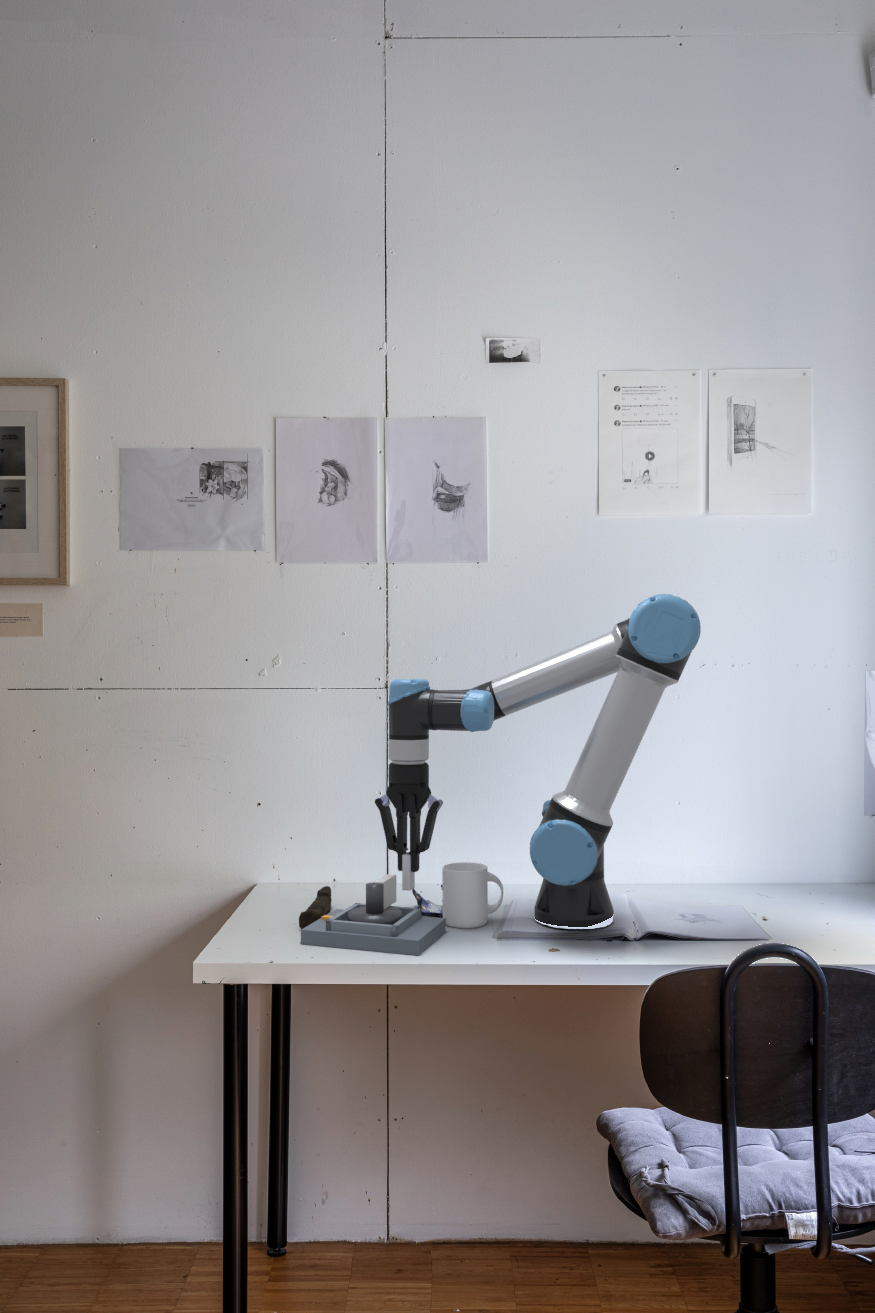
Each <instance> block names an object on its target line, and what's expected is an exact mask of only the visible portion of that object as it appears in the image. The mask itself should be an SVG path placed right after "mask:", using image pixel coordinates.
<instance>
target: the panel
mask: <svg viewBox="0 0 875 1313" xmlns="http://www.w3.org/2000/svg"><path fill="white" fill-rule="evenodd" d="M363 906H366V903H362V902H361V903H360V902H355V903H354V904H352V905H350V906H348V907H346V908H345V909H341V908H340V909H338V908H336V909H334V910H332V911H330V912H329V913H326V914H325V915H324V916H322V917H321V918H320V919H319V920H317V921H315V922H313V923H312V924H310V925H308V926H306V927H305V928H303V929H301V928H300V944H301V945H307V946H308V945H309V946H317V947H319V946H320V947H329V948H339V949H350V950H359V951H370V952H378V953H388V954H400V955H410V956H420V955H422V953H423V952H424V951H425V950H426V949H428V948H429V947H430V946H431V945H432V944H433V943H435V942H436V941H437V940H438V939H439V938H440V937H442V936H443V935H444V934H445V933H446V932H447V927H446V926H447V925H446V918H441V917H436V916H435V917H434V916H426V915H424V916H422V908H419V907H407V906H396V905H390V906H391V907H395V908H398V909H400V910H401V919H400V920H399V921H397V922H396V923H395V924H393V925H387V924H375V923H364V922H353V921H348V912H349V911H350V910H352V909H354V908H358V907H363Z"/></svg>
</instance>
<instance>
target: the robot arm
mask: <svg viewBox="0 0 875 1313" xmlns="http://www.w3.org/2000/svg"><path fill="white" fill-rule="evenodd" d="M629 616H630V617H628V618H626V619H625V620H623V621H620V622H617V623H616V624H614V627H613V629H612V631H610V632H607V633H605V634H602V635H600V636H598V637H595V638H593V639H590V640H587V641H585V642H582V643H579V644H577V645H575V646H573V647H571V648H568V649H565V650H563V651H560V652H558V653H555V654H553V655H550V656H548V657H546V658H544V659H541V660H538V661H536V662H534V663H531V664H529V665H527V666H523V667H521V668H519V669H516V670H514V671H511V672H509V673H507V674H504V675H502V676H499V677H497V678H494V679H492V680H490V681H487V682H484V683H482V684H479V685H477V686H474V687H472V688H467V689H439V690H438V689H431V687H430V682H429V680H428V679H424V678H422V679H421V678H420V679H419V678H418V679H417V678H415V679H413V678H412V679H411V678H402V679H401V678H397V679H393V680H392V681H391V682H390V683H389V691H388V692H389V694H388V702H387V705H388V760H389V761H390V763H389V764H388V786H387V789H386V792H385V794H384V795H382V796H380V797H377V798H375V799H374V804H375V806H376V807H377V809H378V810H379V813H380V818H381V823H382V828H383V831H384V836H385V840H386V845H387V848H388V849H387V850H390V851H394V852H395V853H396V854H397V871H398V872H401V873H402V875H401V879H402V880H401V881H402V884H401V885H402V886H401V890H402V891H408V892H409V891H412V889H413V888H414V889H415V886H416V885H415V880H416V878H415V877H416V876H415V873H417V872H418V871H419V870H420V854H421V853H424V852H426V851H428V850H429V849H430V846H431V842H432V838H433V834H434V830H435V824H436V821H437V817H438V812H439V811H440V809H441V808H442V806H443V804H444V802H443V800H442V799H438V798H436V797H435V796H433V795H432V790H431V788H430V786H429V785H430V783H429V782H430V764H429V763H428V762H426V761H428V760H429V757H430V755H429V754H430V753H429V752H430V748H429V747H430V746H429V745H430V739H429V738H430V731H431V730H432V731H450V732H453V731H454V732H455V731H456V732H460V731H461V732H470V733H474V732H487V731H490V730H491V729H492V728H493V724H494V721H496V720H499V719H502V718H504V717H506V716H509V715H511V714H514V713H516V712H519V711H522V710H524V709H527V708H530V707H531V706H534V705H537V704H540V703H542V702H545V701H547V700H549V699H552V698H555V697H558V696H559V695H562V694H565V693H567V692H570V691H572V690H576V689H577V688H580V687H584V686H586V685H588V684H590V683H593V682H595V681H598V680H600V679H604V678H605V677H608V676H610V675H613V674H615V677H614V680H613V682H612V684H611V686H610V688H609V690H608V693H607V694H606V697H605V699H604V702H603V704H602V706H601V709H600V711H599V713H598V715H597V717H596V720H595V722H594V725H593V727H592V728H591V730H590V733H589V735H588V737H587V739H586V742H585V744H584V746H583V749H582V751H581V752H580V755H579V757H578V760H577V762H576V765H575V766H574V768H573V771H572V773H571V775H570V778H569V780H568V782H567V785H566V786H565V788H564V790H562V791H560V792H557V793H555V794H553V795H552V797H551V799H548V800H545V801H544V802H543V804H542V811H541V816H542V819H541V821H540V824H539V825H538V827H537V828H536V830H534V832H533V834H532V835H531V838H530V842H529V858H530V861H531V863H532V866H533V867H534V869H535V870H536V872H537V873H538V874H539V875H540V876H541V877H542V883H541V885H540V888H539V892H538V895H537V897H536V902H535V904H534V911H533V912H534V913H533V914H534V917H535V919H536V920H538V921H540V922H543V923H546V924H551V925H557V926H568V927H588V926H592V925H595V924H598V923H601V922H603V921H605V920H607V919H609V918H611V917H612V916H613V914H614V915H615V913H614V912H615V911H614V906H613V904H612V901H611V897H610V895H609V892H608V889H607V885H606V882H605V844H606V841H607V838H608V836H609V834H610V833H611V830H612V828H613V825H614V821H613V819H612V815H611V814H610V812H611V809H612V807H613V804H614V802H615V800H616V797H617V796H618V793H619V791H620V789H621V787H622V785H623V782H624V780H625V777H626V775H627V774H628V770H629V769H630V766H631V764H632V763H633V760H634V758H635V756H636V753H637V751H638V749H639V747H640V745H641V743H642V740H643V737H644V736H645V734H646V732H647V730H648V727H649V725H650V724H651V720H652V718H653V716H654V714H655V712H656V710H657V707H658V705H659V704H660V701H661V699H662V696H663V693H664V692H665V690H666V688H668V687H669V686H672V685H674V684H678V682H679V681H680V678H681V677H682V676H681V675H682V674H683V672H684V669H685V667H686V665H687V663H688V661H689V658H690V656H691V654H692V652H693V650H694V649H695V648H696V646H697V645H698V642H699V640H700V636H701V621H700V617H699V614H698V612H697V611H696V609H695V608H694V607H693V605H692V604H691V603H690V602H688V601H687V600H686V599H683V598H682V597H680V596H677V595H673V594H669V593H668V594H667V593H659V594H654V595H651V596H648V597H647V598H645V599H643V600H642V601H641V602H639V603H638V604H637V606H635V608H634V609H633V610H632V612H631V614H630V615H629ZM390 802H391V803H390ZM427 802H428V803H427ZM390 804H392V806H393V808H394V809H395V817H396V828H395V825H394V818H393V815H392V811H391V810H392V809H391V808H390ZM426 804H427V808H428V810H427V814H426V818H425V822H424V825H423V826H424V827H423V831H422V834H421V816H422V809H423V808H424V807H425V805H426ZM408 817H409V847H408ZM408 850H409V851H408ZM535 919H534V920H535Z"/></svg>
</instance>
